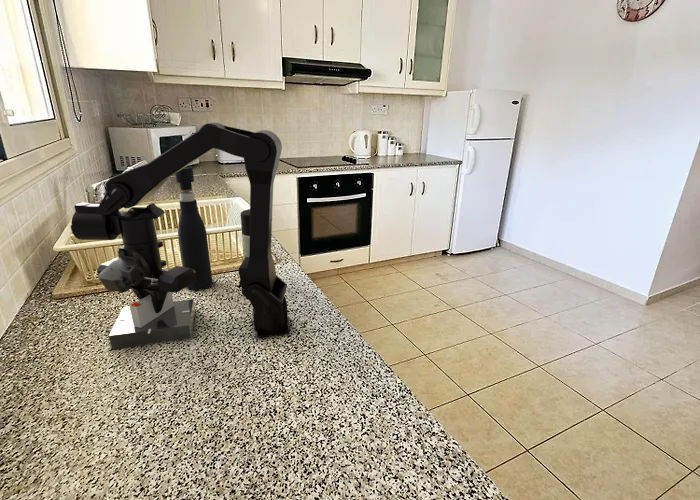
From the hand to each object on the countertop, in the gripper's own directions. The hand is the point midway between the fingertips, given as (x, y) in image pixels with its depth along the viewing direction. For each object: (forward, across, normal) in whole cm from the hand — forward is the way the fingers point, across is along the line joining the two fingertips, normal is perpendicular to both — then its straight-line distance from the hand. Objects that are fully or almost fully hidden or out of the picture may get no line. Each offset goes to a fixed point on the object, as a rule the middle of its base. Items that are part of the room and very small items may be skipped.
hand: (154, 311), depth 76 cm
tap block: (+4, 0, 0) cm, 4 cm away
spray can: (+4, +11, +24) cm, 26 cm away
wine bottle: (+4, -5, +20) cm, 21 cm away
